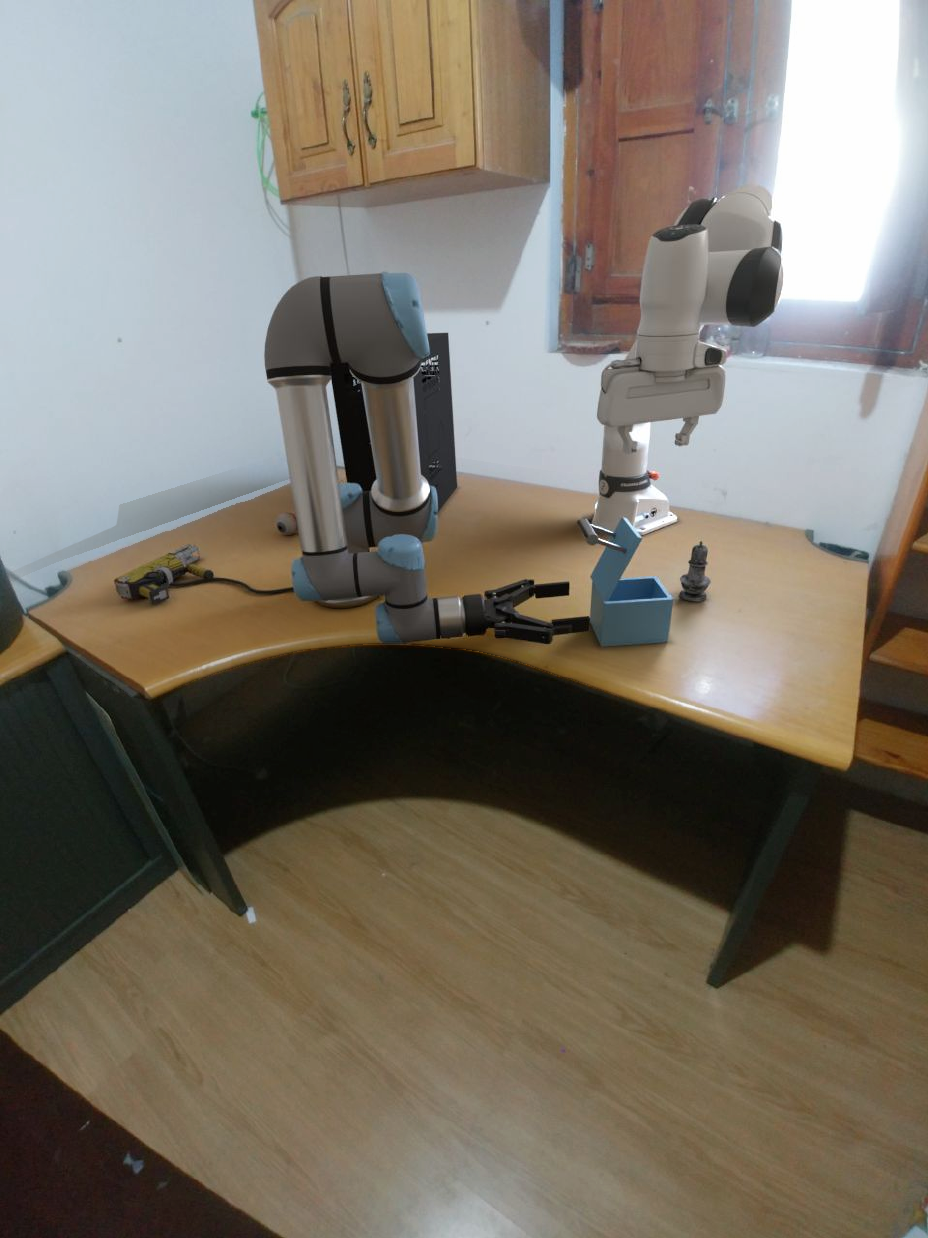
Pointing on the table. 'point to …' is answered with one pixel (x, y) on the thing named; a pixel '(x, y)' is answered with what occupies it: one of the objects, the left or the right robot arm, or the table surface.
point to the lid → (611, 553)
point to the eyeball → (286, 523)
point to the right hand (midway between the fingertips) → (655, 448)
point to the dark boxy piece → (430, 417)
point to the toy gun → (160, 575)
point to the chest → (632, 613)
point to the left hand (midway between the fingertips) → (578, 605)
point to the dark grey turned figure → (696, 576)
